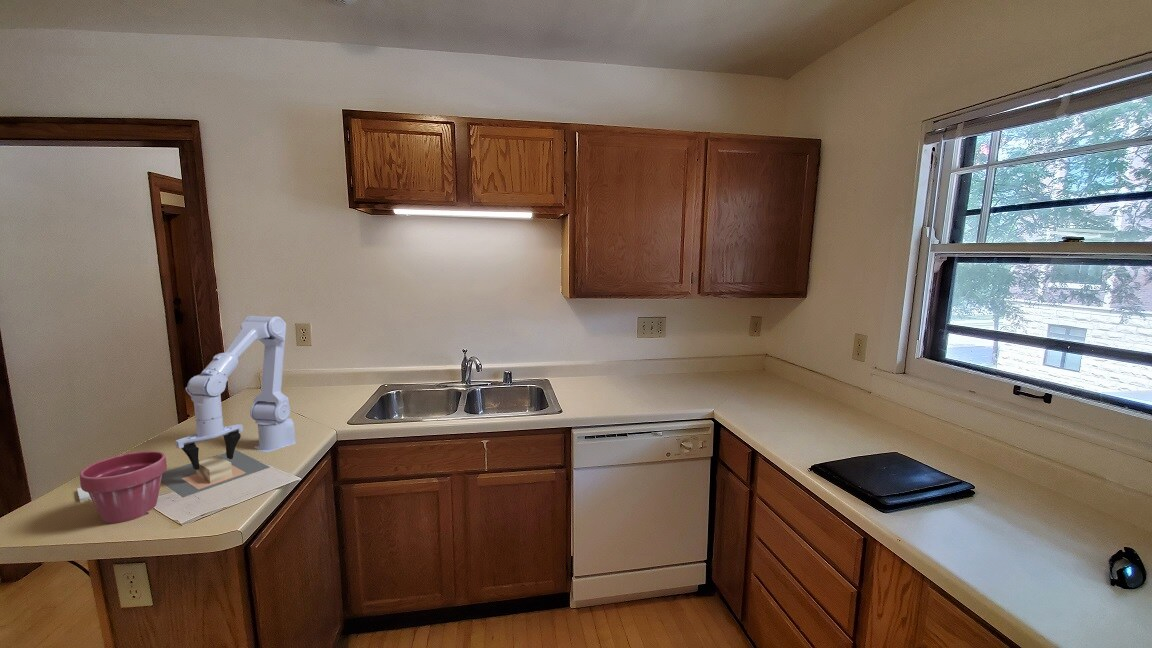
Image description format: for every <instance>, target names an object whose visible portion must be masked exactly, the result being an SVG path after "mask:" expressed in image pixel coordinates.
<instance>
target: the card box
mask: <svg viewBox="0 0 1152 648" xmlns="http://www.w3.org/2000/svg"><path fill="white" fill-rule="evenodd" d="M218 455H219V454H218ZM218 455H217V454H216V455H213V456H210V457H206V458H204V459H200V460H199V459H198V460H199V466H200V468H199V469H198V470H196V474H197V476H199V477H201V478H202V479H204V480H206V481H207V482H209V483H210V484H211V483H214V482H217V481H219V480H222V479H225V478H228V477H231V476H232V465H231V462H229V461H227V460H225V459H223V458H221V457H219V456H218Z"/></svg>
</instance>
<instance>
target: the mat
mask: <svg viewBox="0 0 1152 648" xmlns="http://www.w3.org/2000/svg"><path fill="white" fill-rule="evenodd" d="M218 456H219V457H221V458H223V459H225V460H227V461H229V462H231V465H232V476H231V477H228V478H225V479H222V480H219V481H217V482H214V483H211V484H210V483H209V482H207V481H206V480H204V479H202V478H201V477H199V476H197V474H196V470H195V469H194V468H193V465H192V463H191V462H190V463H188V464H184V465H181V466H178V467H173V468H171V469H170V468H169V469H168V470H167V469H166V471H165V472H164V473H163V474H162V478H161V483H162V484H163V485H165V486H167V487H168V488H169V489H171V490H172V491H173V492H175V493H177V494H178V495H179V496H180V497H182V498H185V497H188V496H191V495H193V494H194V495H195V494H197V493H200V492H203V491H206V490H209V489H211V488H212V489H213V488H214V487H218V486H221V485H223V484H226V483H228V482H232V481H235V480H237V479H240V478H241V479H242V478H244V477H245V476H246V477H247V476H249V475H253V474H255V473H257V472H260V471H264V470H267V469H269V468H271V466H269V465H267V464H265V463H263V462H261V461H259V460H257V459H255V458H253V457H251V456H249V455H247V454H245V453H243V452H241V451H239V450H237V449H236V450H234V454H233V459H228V458H227V456H226V452H225V453H221V454H218Z"/></svg>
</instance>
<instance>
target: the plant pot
mask: <svg viewBox="0 0 1152 648" xmlns="http://www.w3.org/2000/svg"><path fill="white" fill-rule="evenodd" d="M167 468H168V465H167V457H166V454H165V453H163V452H161V451H157V450H143V451H134V452H129V453H123V454H119V455H114V456H111V457H107V458H105V459H102V460H99V461H95V462H93V463H92V464H90V465H88V466H86V467H85V468H83V469H81V471H80V472H79V483H80V488H81V489H82V490H83V491H85V492H88V493H89V495H90V497H91V499H90V500H91V501H92V504H93V506H94V507H95V509H96V511H97V512H98V515H99V516H100V519H101V521H102V522H104V523H106V524H118V523H119V524H120V523H124V522H129V521H133V520H136V519H138V518H141V517H143V516H145V515H147V514H149V511H152V510H153V509H154V508H156V506H157V502H158V498H159V494H160V491H161V490H160V489H161V483H162V482H161V478H162V474H163V473H164V472H165V471H167Z"/></svg>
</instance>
